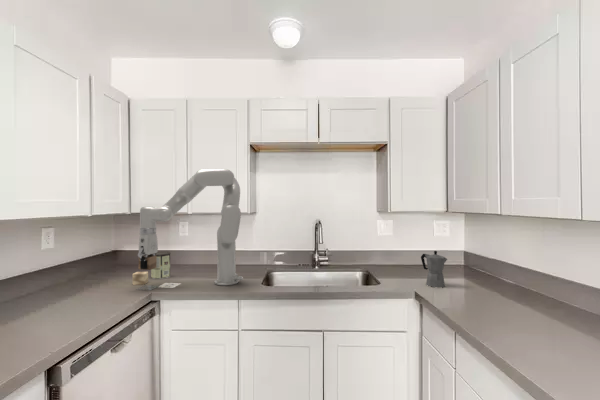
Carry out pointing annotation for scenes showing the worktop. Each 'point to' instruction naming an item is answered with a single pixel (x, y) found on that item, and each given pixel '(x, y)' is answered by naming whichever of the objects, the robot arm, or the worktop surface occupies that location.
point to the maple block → (140, 278)
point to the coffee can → (161, 266)
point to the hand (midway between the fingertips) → (147, 267)
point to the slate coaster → (147, 287)
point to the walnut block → (149, 262)
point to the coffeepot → (434, 269)
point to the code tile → (169, 285)
